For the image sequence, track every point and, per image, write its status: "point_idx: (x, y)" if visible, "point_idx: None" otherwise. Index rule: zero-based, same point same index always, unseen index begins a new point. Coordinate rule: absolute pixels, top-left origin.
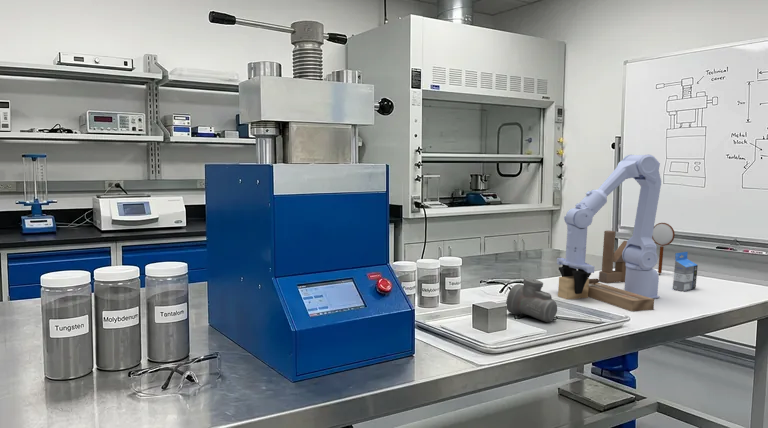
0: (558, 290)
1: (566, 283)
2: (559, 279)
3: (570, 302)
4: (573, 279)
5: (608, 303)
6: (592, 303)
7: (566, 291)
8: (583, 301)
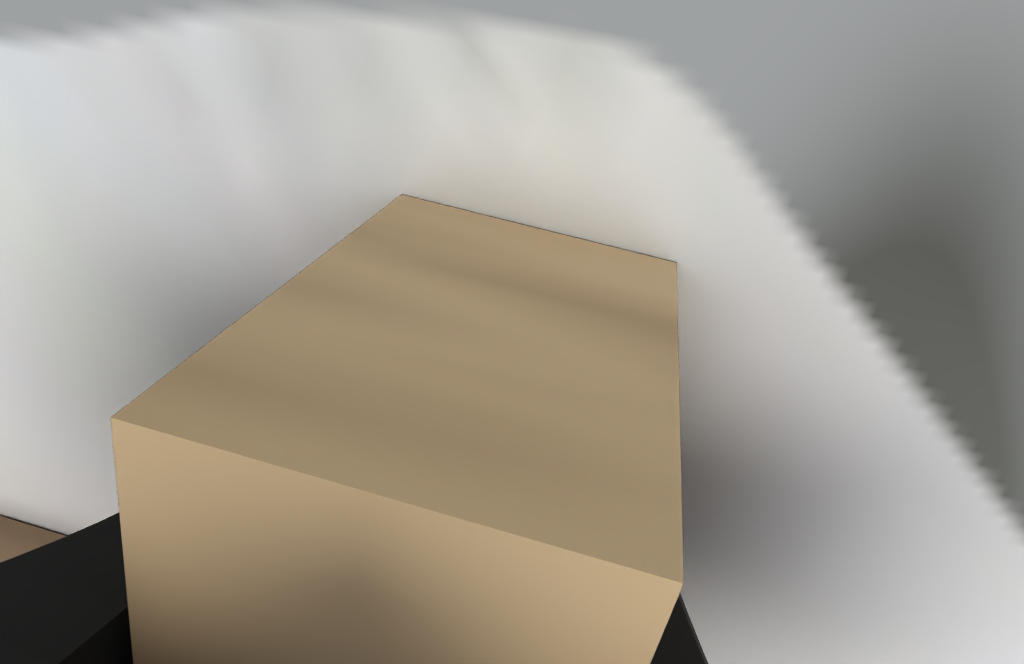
0: (671, 315)
1: (267, 348)
2: (649, 497)
3: (178, 37)
4: (132, 616)
5: (18, 522)
6: (53, 346)
7: (353, 249)
8: (188, 336)
